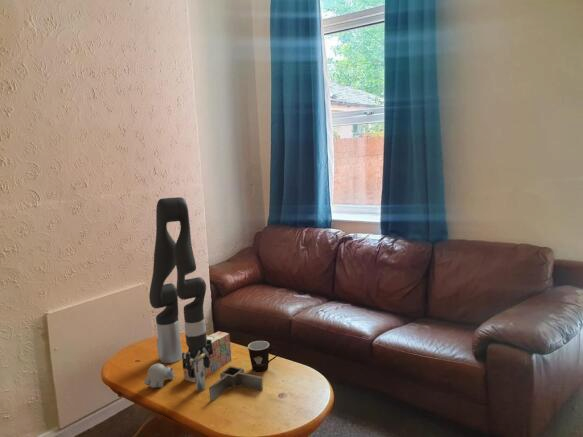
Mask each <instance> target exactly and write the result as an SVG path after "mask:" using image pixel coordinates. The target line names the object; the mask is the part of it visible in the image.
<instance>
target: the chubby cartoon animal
mask: <svg viewBox="0 0 583 437" xmlns="http://www.w3.org/2000/svg"><path fill="white" fill-rule="evenodd" d="M169 366H170V365H167V366H165V365H164V364H163V363H158V362H157V363H154V364H152V365H151V366H150V367H149V368H148V370H147V377H146V378H145V379H144V385H145V386H149V387H150V388H163V387H164V381H165V379H167V380H169V381H171V380H174V378H175V376H174V375H175V373H176V371H175V370H174V367H169Z"/></svg>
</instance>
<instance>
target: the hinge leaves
mask: <svg viewBox="0 0 583 437" xmlns="http://www.w3.org/2000/svg"><path fill="white" fill-rule="evenodd" d="M219 377H220V378H219V379H218V380H217V381H216V382H214V383H213V384H212V385H210V387H209V388H208V391H209V392H208V393H209V401H210V402H214V401H215V400H216V399H217V398H219V396H221V395H222V394H224V392H226V391H227V390H228V389H234V390H236V389H237V388H238V387H243V388H247V389H251V390H255V391H260V392H263V390H264V389H263V387H264V384H263V377H262V376H259V375H253V374H249V373H245V370H244V368H243V367H241V368H240V367H236V366H231V365H230V366H228V367H226V368H225V369H224V370H223V371H222V372H220V374H219Z"/></svg>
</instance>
